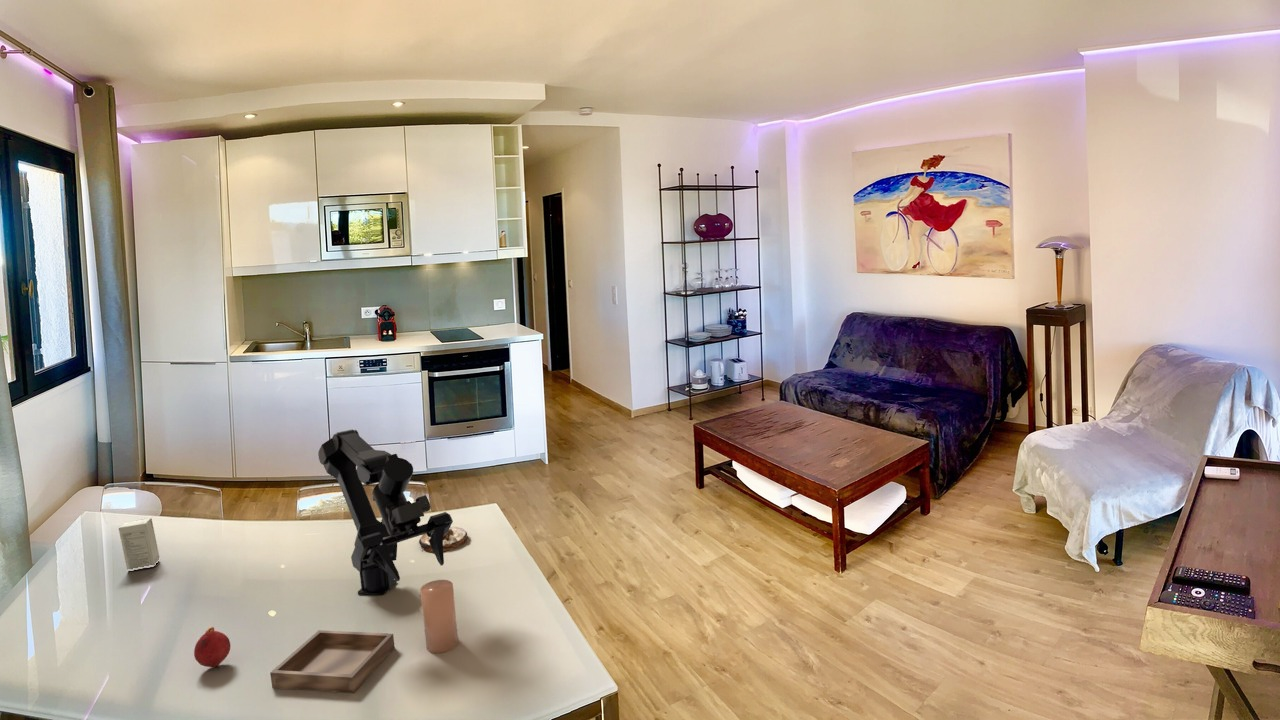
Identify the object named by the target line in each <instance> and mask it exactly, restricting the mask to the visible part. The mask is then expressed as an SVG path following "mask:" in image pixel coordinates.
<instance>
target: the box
mask: <svg viewBox="0 0 1280 720" xmlns="http://www.w3.org/2000/svg"><path fill="white" fill-rule="evenodd" d="M395 648H396V647H395V638H394V633H382V632H365V631H364V632H362V631H341V630H340V631H339V630H317V631H316V632H315V633H314V634H312V635H311V637H309V638H308V639H307V640H306V641H305V642H304V643H302V644H301V645H300V646H299V647H298V648H296V649H295V650H294V651H293V652H292V653H291V654H290V655H289V656H287V657H286V658H285V659H284V660H283V661H282V662H281V663H280V664H278V665H277V666H276V667H275V668H274V669H272V670H271V671H270V675H269V676H270V681H271V688H272V689H279V690H280V689H282V690H283V689H285V690H299V691H315V692H330V693H331V692H332V693H333V692H334V693H346V694H355V693H356V691H358V689H360V687H361V686H362V685H363V684H364V683H365V682H366V680H367V679H368V678H369V677H371V676H372V674H373V673H374V671H376V669H377V668H378V667H379V666H380V665H381V664H382V663H383V662H384V661H385V659H386V658H388V656H389V655H390V654H391V653H392V652H393V651H394V650H395Z"/></svg>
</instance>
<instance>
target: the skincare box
mask: <svg viewBox="0 0 1280 720" xmlns="http://www.w3.org/2000/svg"><path fill="white" fill-rule="evenodd" d="M152 519H153V518H152V517H149V518H144V519H137V520H136V519H135V520H130V521H125V522H123V523H122V524H121V525H120V526H119V527H118V532H119V537H120V541H121V547H122V551H123V556H124V561H125V564H126V565H125V566H126V570H127V569H133V568H138V567H144V566H149V565H155V563H156V562H157V561H158V560H159V558H160V553H159V548H158V544H157V539H156V534H155V528H154V523H153V520H152Z"/></svg>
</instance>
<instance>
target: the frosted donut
mask: <svg viewBox="0 0 1280 720" xmlns="http://www.w3.org/2000/svg"><path fill="white" fill-rule="evenodd" d="M430 538H431V537H428V535H427V533H426V534H423V535H421V536H420V538H419V542H418V543H419V546H420V547H419V549H420V548H421V549H422V550H421V552H428V553H434V552H433V549H432V547H431V545H430V543H429V540H430ZM467 541H468V533H467V531H466V530H465V529H463V528H462V527H458V526H450V528H449V530H448V532H447V533H446V534H445V535H444V537H443V552H446V551H451V550H452V549H456V548H458V547H460V546H463V545H464V544H465V543H467ZM462 544H463V545H462ZM450 549H451V550H450Z"/></svg>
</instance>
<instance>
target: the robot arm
mask: <svg viewBox="0 0 1280 720" xmlns="http://www.w3.org/2000/svg"><path fill="white" fill-rule="evenodd" d="M318 460H319V462H320V464H321V465H323V468H324V469H325V472H326V473H327V474H329V475H330V476H331V477H332V478H334V479H336V480H337V482H338V484H339V488H340V490H341V492H342V495H343V497H344V500H345V502H346V505H347V508H348V510H349V513H350V515H351V518H352V520H353V523H354V526H355V528H356V536H355V539H354V542H353V543H354V548H353V551H352V553H351V556H350V559H351V563H352V567H353V568H355V569H356V570H357V571H358V572H359V579H360V587H361V588H360V589H358V591H357V595H367V596H368V595H372V596H383V595H385V594H386V593H387V592H388V591H389V590H390V589H392V587H393V586H395V585H396V584H397V582H400V580H401V577H400V574H399V571H398V568H397V566H396V565H395V563H394V561H397V556H398V555H397V554H398V543H401V542H403V541H407V540H410V539H412V538H417V537H419V536H420V537H421V536H422V535H423V534H426V533H427V535H428V537H431V538H430V540H429V543H430V545H431V547H432V549H433V552H432V553H434V556H435V558H436V560H437V562H438V563H439V565H440V566H441V567H443V565H444V563H445V561H444V560H445V557H444V555H445V554H444V551H443V537H444V535H445V534H446V533H447V532H448V530H449V528H450V527H452V524H453V522H454V521H453V518H452V516H451V514H450V513H448V512H447V511H444V512H441V513H438V514H433V515H431V516H429V519H428V521H427V523H424V524H421V525H419V524H420V522H421V521H422V519H421V517H422V518H423V517H424V516H425V513H426V512H429V511H430V510H431V509H432V508H431V507H432V506H431V503H430V500H429V498H428V497H427V495H426V494H425V495H421V496H418V497H417V498H415V502H411V501H410V500H407V498H406V496H405V491H406V490H407V489H408V486H409V483H410V481H411V479H412V476H413V473H414V467H413V464H412V463H410V461H408V459H404V458H403V457H399V456H398V454H397V453H393V454H391V453H389V452H388V451H386V450H381V449H380V450H378V449H375V448H373V447H372V446H371V444H369V443H368V442H367V441H365V440H364V439H363V438H362V437H361V436H360V434H359V431H358V430H357V429H347V430H344V431H343V430H342V431H339V432H336V433H334V434H333V435H332V437H331V438H330V439H328V440H327V441H325V442H324V443H322V444H321V446H320V448H319V450H318ZM363 484H364V485H365V486H369V485H370V486H371V485H374V484H376V485H375V486H373V487H374V488H373V490H372V501H373V502H375V503H376V507H377V508H378V510H379V513H380V515H381V520H378V519H377V516H376V515H375V512H374V510H373V507H372V505H371V502H370V500H369V497H368V494H367V492H366V490H365V488H364V487H365V486H364V485H363Z"/></svg>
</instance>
